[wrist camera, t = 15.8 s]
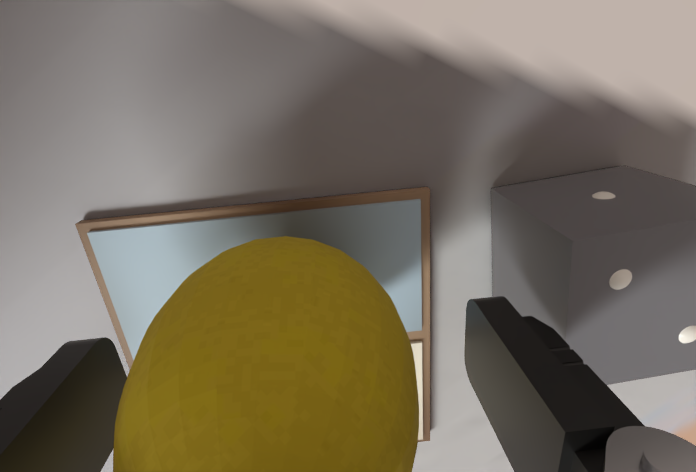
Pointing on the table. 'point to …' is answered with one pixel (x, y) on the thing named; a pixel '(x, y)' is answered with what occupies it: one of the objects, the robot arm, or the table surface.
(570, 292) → the die
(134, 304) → the board
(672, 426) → the table surface
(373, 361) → the lemon
